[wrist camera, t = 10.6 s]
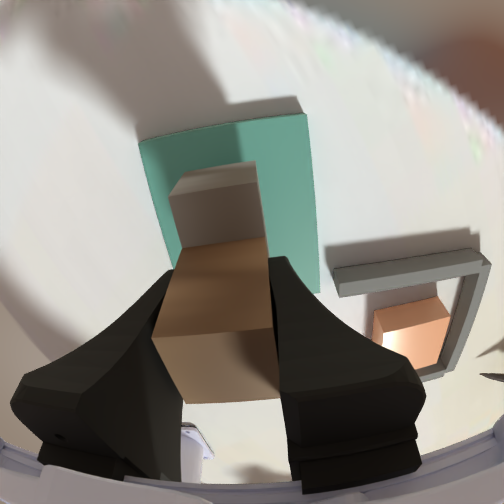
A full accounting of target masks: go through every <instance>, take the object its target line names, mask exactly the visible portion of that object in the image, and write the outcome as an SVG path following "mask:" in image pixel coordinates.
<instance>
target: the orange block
mask: <svg viewBox="0 0 504 504" xmlns="http://www.w3.org/2000/svg"><path fill="white" fill-rule="evenodd" d="M450 317H451V316H450V314H449V313H448V311H447V310H446V308H445V307H444V305H443V304H442V302H441V301H440V299H439V298H438V296H436V297H432V298H428V299H424V300H420V301H415V302H411V303H407V304H402V305H398V306H393V307H388V308H384V309H379V310H374V321H373V333H372V341H373V342H375V343H377V344H379V345H381V346H383V347H385V348H387V349H390V350H392V351H394V352H396V353H399V354H401V355H403V356H406V357H407V358H408V359H409V361H410V363H411V364H412V366H413V367H414V369H419V368H422V367H426V366H429V365H432V364H436V363H437V360H438V357H439V354H440V351H441V348H442V345H443V341H444V338H445V335H446V331H447V328H448V324H449V321H450Z"/></svg>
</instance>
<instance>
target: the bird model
mask: <svg viewBox="0 0 504 504" xmlns="http://www.w3.org/2000/svg"><path fill="white" fill-rule="evenodd" d="M480 375H482V376H485V377H487V378H489V379H493V380H497V381H501V382H504V374H496V373H489V374H488V373H480Z"/></svg>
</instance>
